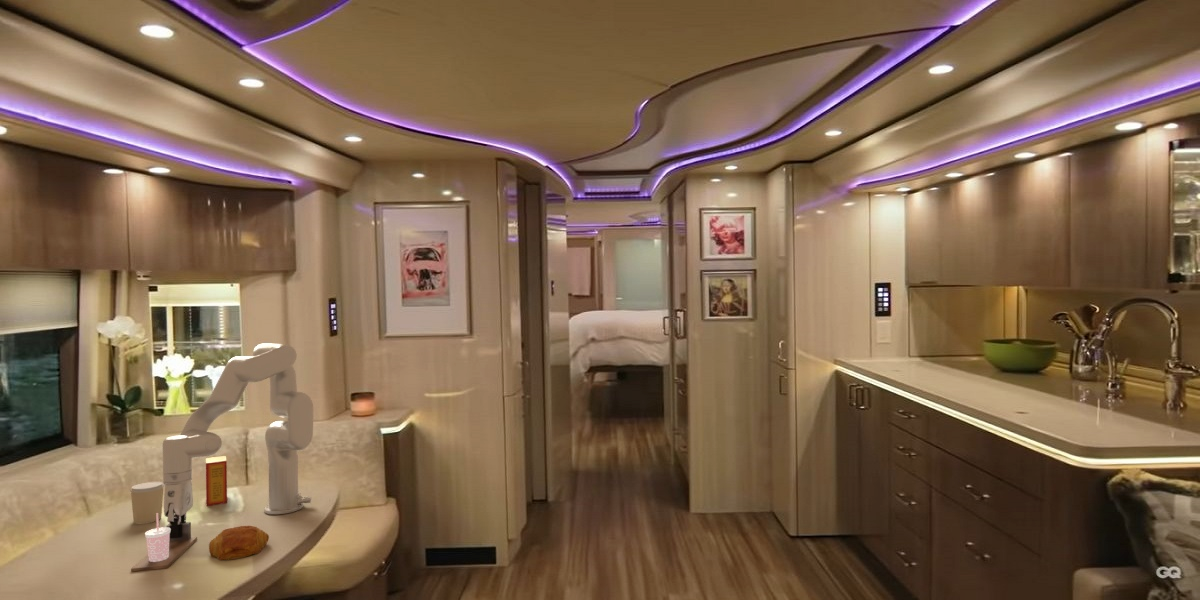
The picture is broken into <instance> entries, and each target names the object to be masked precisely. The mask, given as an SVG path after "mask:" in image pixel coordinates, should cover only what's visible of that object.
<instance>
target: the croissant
mask: <svg viewBox="0 0 1200 600" xmlns="http://www.w3.org/2000/svg"><path fill="white" fill-rule="evenodd" d="M269 540H270V536H269V534H268V532H265V531H264V530H263V529H260V528H259V527H257V526H254V525H253V526H252V525H239V526H237V527H231V528H225V529H223V530H222V531H221V532H219V534H217V536H215V537H214V538H213V539H211V540H210V542H209V544H208V551H209V553H210V556H212V557H215V558H217V557H218V561H222V560H223V561H224V560H225V561H231V560H236V559H243V558H244V559H245V558H248V557H250V556H252V554H253V555H256V554H259V553H260V552H261V550H263V549H264V547H266V545H267V544H268V542H269ZM228 559H229V560H228Z"/></svg>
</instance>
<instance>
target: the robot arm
mask: <svg viewBox="0 0 1200 600" xmlns="http://www.w3.org/2000/svg"><path fill="white" fill-rule="evenodd" d="M296 361H297V351H296V349H295V348H294V347H293V346H291V345H290V344H286V343H285V344H284V343H273V342H272V343H271V342H270V343H269V342H268V343H260V344H257V346H255V347H254V349H253V351H252V356H246V355H245V356H244V355H241V356H234V357H232V358H231V359H229V360H228V361H227V363H226V365H225V367H224V369H223V371H222V373H221V374H220V376H219V378H218V380H217V381H216V385H215V387H214V388H213V390H212V392H211V394H210V396H209V397H208V398H207V399H206V400H205V401H204V402H203V403H202V404H201V405H199V407H198V408H196V409H195V411H194V412H192V413H191V415H190V416H189V418H188V420H187V421H186V423H185V424H184V427H183V429H182V431H181V433H180V435H173V436H169V437H165V439H163V440H162V483H163V485H164V493H163V496H164V498H163V512H164V517H165V518H167V521H166V522H167V523H168V524H169V525H170V528H171V530H170V531H171V532H170V538H181V537H182V524H181V523H186V522H187V513H188V512H189V511H190V510H191V509H192V508H193V507H194V497H193V496H194V494H193V484H192V479H193V465H192V464H193V463H192V461H193V460H192V459H193V458H202V457H210V456H212V455H215V454H216V453H217V452H218V451H220V449H221V448H222V445H223V444H222V443H223V441H222V438H221V437H220V436H219V435H218V434H217V433H214V432H212V431H208V430H209V428H210V426H211V425H212V424H213V423H214V422H215V420H217V419H218V418H219V417H220V416H221V415H223V414H225V413H228V412H229V411H232V410H233V409H235V408H236V407H237V406H238V404H239V402H240V400H241V398H242V396H243V394H244V392H245V390H246V388H247V386H248V385H249V383H259V382H262V381H264V380H267V379H269V409H270V412H271V414H272V415H273V416H276V417H278V418H279V417H280V418H283V419H287V420H276V421H274V422H272V423H271V424H270V425H268V427H267V428H266V430H265V433H264V435H265V436H264V439H265V440H264V441H265V445H266V449H267V457H268V459H267V460H268V465H267V466H268V467H267V468H268V505H266V506H265V507H264V509H263V512H264V513H265V514H268V515H285V514H290V513H291V514H292V513H294V512H297V511H299V510H301V509H303V507H304V504H311V503H312V497H310V496H309V495H308V496H301V493H300V492H299V457H298V452H297V451H301V450H304V449H306V448H307V447H309V445H310V444H311V443H312V439H313V437H314V436H313V435H314V403H313V400H312V398H311V397H310V395H309V394H308V393H306V392H304V391H298V389H297V388H298V387H297V374H296V371H295V368H294V366H293V365H294V364H295V363H296Z"/></svg>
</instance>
